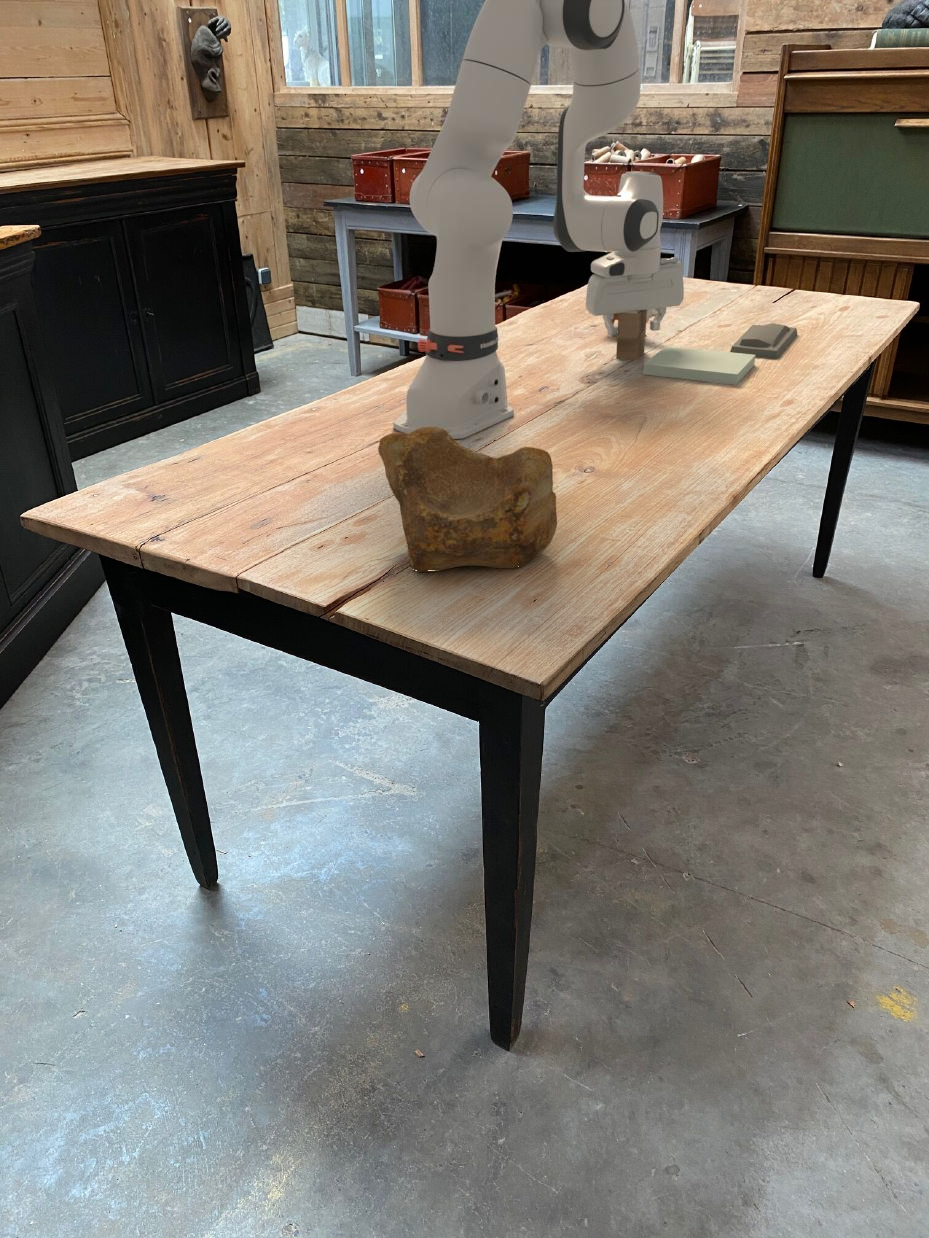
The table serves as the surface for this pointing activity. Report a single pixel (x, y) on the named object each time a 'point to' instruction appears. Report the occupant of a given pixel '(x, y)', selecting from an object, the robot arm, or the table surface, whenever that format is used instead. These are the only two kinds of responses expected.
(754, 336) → the soap mold
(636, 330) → the block
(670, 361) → the board
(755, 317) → the table surface
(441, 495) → the rough brown rock
